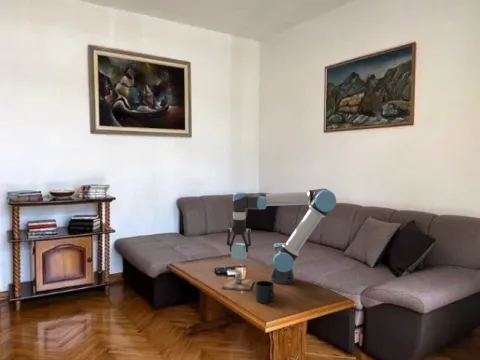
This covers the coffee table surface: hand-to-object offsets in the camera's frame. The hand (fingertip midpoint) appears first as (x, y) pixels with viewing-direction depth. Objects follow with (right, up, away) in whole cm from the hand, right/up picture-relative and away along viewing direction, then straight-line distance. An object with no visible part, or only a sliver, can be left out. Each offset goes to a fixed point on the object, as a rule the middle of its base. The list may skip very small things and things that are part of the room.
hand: (238, 257), depth 220 cm
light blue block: (0, 0, 0) cm, 0 cm away
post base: (0, -17, +1) cm, 17 cm away
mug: (+15, -19, -23) cm, 33 cm away
